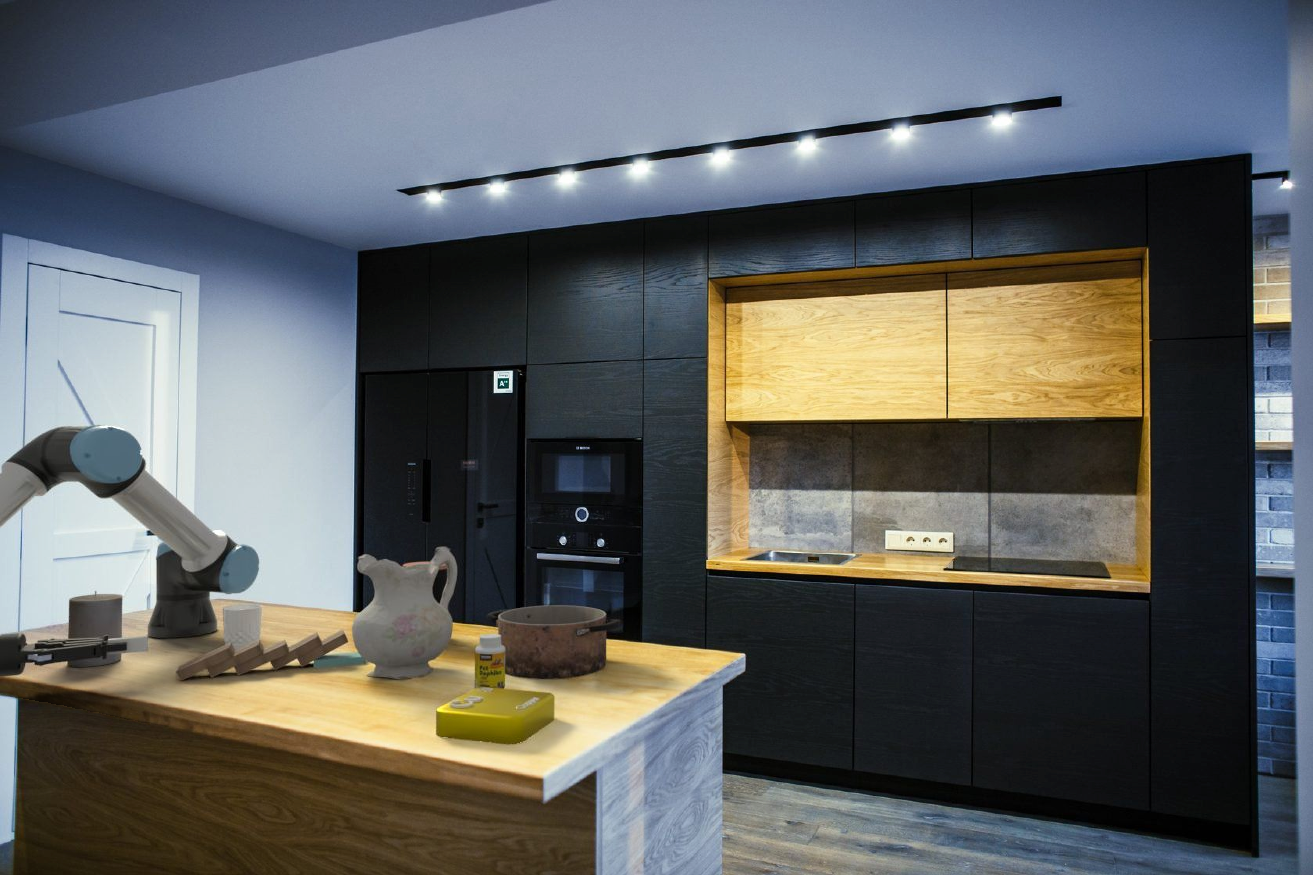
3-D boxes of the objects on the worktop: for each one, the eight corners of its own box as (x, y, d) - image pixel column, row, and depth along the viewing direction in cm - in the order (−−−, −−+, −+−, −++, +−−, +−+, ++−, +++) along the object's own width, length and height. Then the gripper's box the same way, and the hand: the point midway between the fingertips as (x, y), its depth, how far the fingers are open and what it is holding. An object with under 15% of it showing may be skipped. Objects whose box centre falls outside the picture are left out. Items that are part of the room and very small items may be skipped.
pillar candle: (57, 664, 181) (58, 592, 181) (105, 654, 190) (106, 586, 190) (84, 669, 176) (85, 595, 177) (132, 659, 185) (133, 589, 185)
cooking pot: (640, 662, 184) (641, 611, 184) (588, 687, 163) (588, 630, 164) (522, 648, 196) (522, 601, 197) (460, 670, 176) (460, 617, 176)
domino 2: (209, 662, 174) (259, 639, 177) (213, 671, 174) (263, 648, 178) (206, 668, 169) (258, 644, 173) (211, 677, 170) (262, 653, 173)
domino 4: (270, 656, 180) (316, 631, 183) (274, 665, 180) (321, 640, 184) (270, 662, 175) (317, 636, 179) (274, 670, 176) (322, 644, 179)
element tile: (518, 747, 130) (518, 715, 130) (430, 737, 134) (430, 706, 135) (558, 718, 144) (558, 689, 144) (478, 710, 149) (478, 682, 149)
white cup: (268, 648, 196) (269, 603, 196) (248, 656, 188) (249, 610, 188) (235, 647, 197) (236, 603, 197) (214, 655, 189) (215, 609, 189)
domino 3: (234, 661, 176) (284, 639, 180) (238, 670, 176) (288, 648, 180) (234, 666, 171) (285, 644, 175) (238, 675, 172) (289, 653, 176)
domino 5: (297, 653, 182) (342, 629, 185) (301, 661, 182) (346, 637, 186) (297, 658, 177) (343, 633, 181) (301, 667, 177) (348, 641, 181)
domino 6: (313, 655, 183) (363, 651, 186) (313, 664, 183) (363, 660, 186) (313, 660, 178) (365, 656, 182) (313, 670, 178) (364, 666, 182)
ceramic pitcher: (416, 660, 189) (410, 546, 190) (483, 664, 179) (476, 543, 181) (333, 683, 170) (327, 556, 172) (403, 688, 161) (396, 554, 162)
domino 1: (179, 665, 172) (231, 642, 175) (184, 674, 172) (235, 650, 175) (175, 671, 167) (228, 647, 170) (180, 681, 167) (233, 656, 171)
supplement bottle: (474, 696, 157) (475, 639, 157) (474, 688, 162) (474, 633, 162) (506, 694, 158) (506, 637, 158) (504, 686, 163) (504, 632, 164)
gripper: (4, 668, 162) (150, 655, 173) (-13, 685, 151) (144, 670, 161) (5, 628, 163) (150, 618, 173) (-12, 641, 151) (145, 629, 162)
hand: (147, 643), depth 167 cm, fingers closed
